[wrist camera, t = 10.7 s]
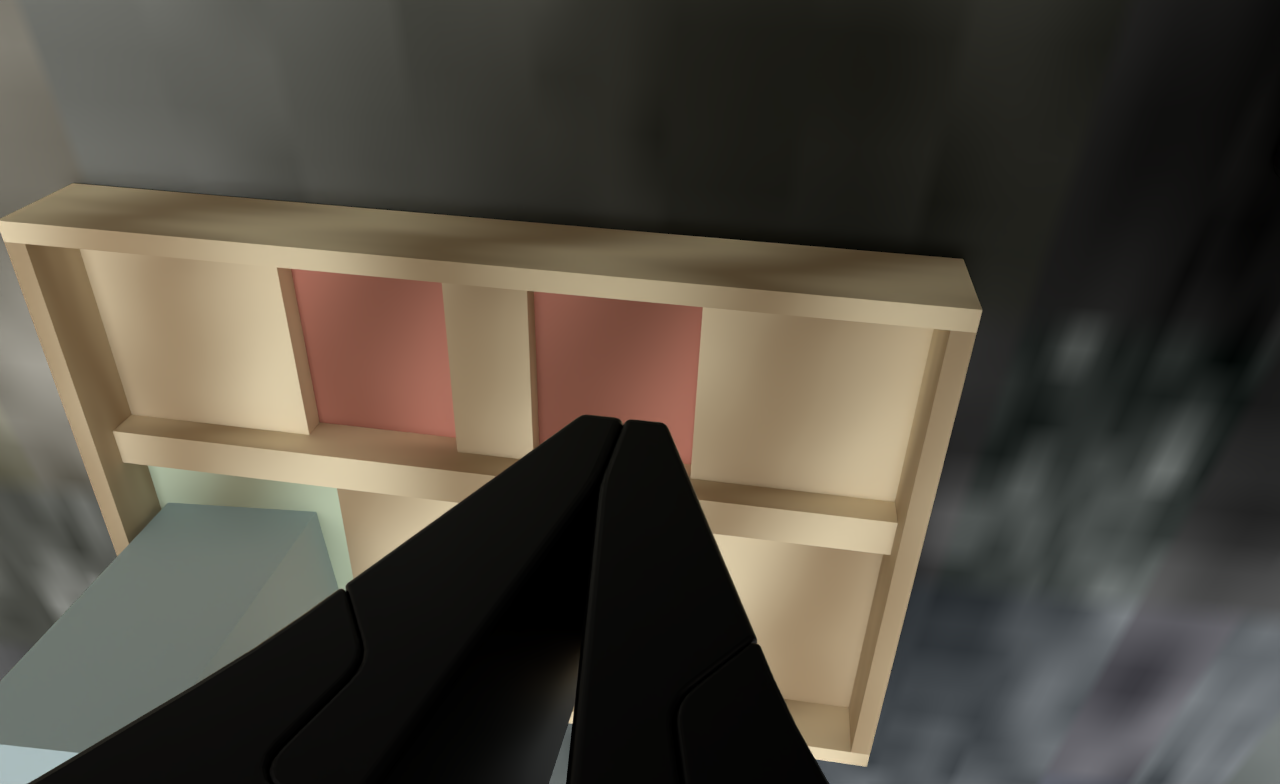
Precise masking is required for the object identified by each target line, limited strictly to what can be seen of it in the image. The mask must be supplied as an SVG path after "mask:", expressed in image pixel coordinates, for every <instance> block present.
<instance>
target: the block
mask: <svg viewBox="0 0 1280 784" xmlns="http://www.w3.org/2000/svg"><path fill="white" fill-rule="evenodd" d="M338 589H339V588H338V585H337V581H336V578H335V575H334V571H333V568H332V564H331V561H330V557H329V554H328V550H327V547H326V544H325V540H324V537H323V533H322V530H321V526H320V523H319V519H318V516H317V513H316V512H311V511H295V510H279V509H263V508H247V507H231V506H216V505H200V504H184V503H167V504H166V505H165V506H164V507H163V508H162V509H161V511H160V512H159V513H158V514H157V515H156V516H155V517H154V518H153V519H152V520H151V521H150V522H149V523H148V524H147V525H146V527H145V528H144V529H143V530H142V531H141V532H140V533H139V534H138V535H137V536H136V537H135V538H134V539H133V540H132V541H131V543H130V544H129V545H128V546H127V547H126V548H125V549H124V550H123V551H122V552H121V553H120V554H119V555H118V556H117V557H116V558H115V560H114V561H113V562H112V563H111V564H110V565H109V566H108V567H107V568H106V569H105V570H104V571H103V572H102V573H101V574H100V576H99V577H98V578H97V579H96V580H95V581H94V582H93V583H92V584H91V585H90V586H89V587H88V588H87V589H86V590H85V592H84V593H83V594H82V595H81V596H80V597H79V598H78V599H77V600H76V601H75V602H74V603H73V604H72V605H71V606H70V608H69V609H68V610H67V611H66V612H65V613H64V614H63V615H62V616H61V617H60V618H59V619H58V620H57V621H56V622H55V623H54V625H53V626H52V627H51V628H50V629H49V630H48V631H47V632H46V633H45V634H44V635H43V636H42V637H41V638H40V639H39V641H38V642H37V643H36V644H35V645H34V646H33V647H32V648H31V649H30V650H29V651H28V652H27V653H26V654H25V655H24V657H23V658H22V659H21V660H20V661H19V662H18V663H17V664H16V665H15V666H14V667H13V668H12V669H11V670H10V671H9V673H8V674H7V675H6V676H5V677H4V678H3V679H2V680H1V681H0V784H27V783H29V782H31V781H33V780H34V779H36V778H38V777H40V776H41V775H43V774H45V773H46V772H48V771H50V770H51V769H53V768H55V767H57V766H58V765H60V764H62V763H63V762H65V761H67V760H68V759H70V758H72V757H73V756H75V755H77V754H78V753H80V752H82V751H84V750H85V749H87V748H89V747H90V746H92V745H94V744H95V743H97V742H99V741H100V740H102V739H104V738H105V737H107V736H109V735H111V734H112V733H114V732H116V731H117V730H119V729H121V728H122V727H124V726H126V725H127V724H129V723H131V722H132V721H134V720H136V719H138V718H139V717H141V716H143V715H144V714H146V713H148V712H149V711H151V710H153V709H154V708H156V707H158V706H159V705H161V704H163V703H165V702H166V701H168V700H170V699H171V698H173V697H175V696H176V695H178V694H180V693H181V692H183V691H185V690H186V689H188V688H190V687H192V686H193V685H195V684H196V683H198V682H200V681H201V680H203V679H205V678H206V677H208V676H209V675H211V674H213V673H214V672H216V671H217V670H219V669H221V668H222V667H224V666H225V665H227V664H229V663H230V662H232V661H234V660H235V659H237V658H238V657H240V656H242V655H243V654H245V653H246V652H248V651H250V650H251V649H253V648H255V647H256V646H258V645H259V644H260V643H262V642H263V641H265V640H266V639H268V638H269V637H271V636H272V635H274V634H275V633H277V632H278V631H280V630H281V629H282V628H284V627H285V626H287V625H288V624H290V623H291V622H293V621H294V620H296V619H297V618H299V617H300V616H301V615H303V614H304V613H306V612H307V611H309V610H310V609H312V608H313V607H314V606H316V605H317V604H318V603H320V602H321V601H323V600H324V599H325V598H327V597H328V596H330V595H331V594H332V593H334V592H335V591H337V590H338Z"/></svg>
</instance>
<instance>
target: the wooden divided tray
mask: <svg viewBox="0 0 1280 784" xmlns="http://www.w3.org/2000/svg"><path fill="white" fill-rule="evenodd" d="M0 232H1V234H2V237H3V240H4V243H5V246H6V248H7V251H8V254H9V257H10V259H11V262H12V265H13V268H14V271H15V273H16V276H17V279H18V282H19V284H20V287H21V290H22V293H23V296H24V298H25V301H26V304H27V307H28V310H29V312H30V315H31V318H32V321H33V323H34V326H35V329H36V332H37V335H38V337H39V340H40V343H41V346H42V348H43V351H44V354H45V357H46V360H47V362H48V365H49V368H50V371H51V373H52V376H53V379H54V382H55V385H56V387H57V390H58V393H59V396H60V398H61V401H62V404H63V407H64V410H65V412H66V415H67V418H68V421H69V423H70V426H71V429H72V432H73V435H74V437H75V440H76V443H77V446H78V448H79V451H80V454H81V457H82V460H83V462H84V465H85V468H86V471H87V473H88V476H89V479H90V482H91V485H92V487H93V490H94V493H95V496H96V498H97V501H98V504H99V507H100V510H101V512H102V515H103V518H104V521H105V523H106V526H107V529H108V532H109V535H110V537H111V540H112V543H113V546H114V548H115V551H116V554H117V556H118V555H119V554H120V553H121V552H122V551H123V550H124V549H125V548H126V547H127V546H128V545H129V544H130V543H131V541H132V540H133V539H134V538H135V537H136V536H137V535H138V534H139V533H140V532H141V531H142V530H143V529H144V528H145V527H146V525H147V524H148V523H149V522H150V521H151V520H152V519H153V518H154V517H155V516H156V515H157V514H158V513H159V512H160V511H161V509H162V508H163V507H164V506H165V505H166V504H167V503H184V504H200V505H216V506H231V507H247V508H263V509H279V510H295V511H311V512H316V513H317V516H318V519H319V523H320V526H321V530H322V533H323V537H324V540H325V544H326V547H327V550H328V554H329V557H330V561H331V564H332V568H333V571H334V575H335V578H336V581H337V585H338V588H339V589H344V590H345V591H346V589H345V587H346V584H347V583H348V582H350V581H351V580H352V579H354V578H355V577H357V576H358V575H359V574H361V573H362V572H363V571H365V570H366V569H368V568H369V567H370V566H372V565H373V564H375V563H376V562H377V561H379V560H380V559H382V558H383V557H384V556H386V555H387V554H389V553H390V552H391V551H393V550H394V549H395V548H397V547H398V546H400V545H401V544H402V543H404V542H405V541H407V540H408V539H409V538H411V537H412V536H414V535H415V534H416V533H418V532H419V531H420V530H422V529H423V528H425V527H426V526H427V525H429V524H430V523H432V522H433V521H434V520H436V519H437V518H439V517H440V516H441V515H443V514H444V513H445V512H447V511H448V510H450V509H451V508H452V507H454V506H455V505H457V504H458V503H459V502H461V501H462V500H464V499H465V498H466V497H468V496H469V495H471V494H472V493H473V492H475V491H476V490H477V489H479V488H480V487H482V486H483V485H484V484H486V483H487V482H489V481H490V480H491V479H493V478H494V477H496V476H497V475H498V474H500V473H501V472H502V471H504V470H505V469H507V468H508V467H509V466H511V465H512V464H514V463H515V462H516V461H518V460H519V459H521V458H522V457H523V456H525V455H526V454H528V453H529V452H530V451H532V450H533V449H534V448H536V447H537V446H539V445H540V444H541V443H543V442H544V441H546V440H547V439H548V438H550V437H551V436H553V435H554V434H555V433H557V432H558V431H559V430H561V429H562V428H564V427H565V426H566V425H568V424H569V423H571V422H572V421H573V420H575V419H576V418H578V417H579V416H581V415H586V414H587V415H596V416H606V417H615V418H619V419H620V420H621V421H622V422H623V424H624V423H625V421H627V420H630V419H634V420H644V421H653V422H662V423H664V424H666V425H667V427H668V429H669V431H670V433H671V435H672V438H673V440H674V443H675V445H676V447H677V450H678V452H679V454H680V457H681V459H682V462H683V464H684V466H685V469H686V471H687V473H688V476H689V478H690V481H691V483H692V485H693V488H694V490H695V492H696V495H697V497H698V500H699V502H700V504H701V507H702V509H703V511H704V514H705V516H706V519H707V521H708V523H709V526H710V528H711V530H712V533H713V535H714V538H715V540H716V542H717V545H718V547H719V550H720V552H721V554H722V557H723V559H724V561H725V564H726V566H727V569H728V571H729V573H730V576H731V578H732V580H733V583H734V585H735V588H736V590H737V592H738V595H739V597H740V599H741V602H742V604H743V607H744V609H745V611H746V614H747V616H748V618H749V621H750V623H751V626H752V628H753V630H754V633H755V635H756V637H757V644H759V645H760V646H761V648H762V651H763V653H764V655H765V658H766V660H767V662H768V665H769V667H770V670H771V672H772V674H773V677H774V679H775V681H776V683H777V685H778V687H779V690H780V692H781V694H782V696H783V698H784V700H785V702H786V704H787V707H788V709H789V711H790V713H791V715H792V717H793V719H794V721H795V724H796V726H797V727H798V729H799V731H800V733H801V735H802V736H803V738H804V740H805V742H806V743H807V745H808V747H809V749H810V751H811V752H812V754H813V756H814V758H815V759H818V760H824V761H831V762H838V763H845V764H852V765H859V766H865V767H867V763H868V759H869V755H870V752H871V748H872V744H873V740H874V736H875V732H876V728H877V724H878V720H879V716H880V712H881V708H882V704H883V700H884V696H885V692H886V688H887V684H888V680H889V677H890V673H891V669H892V665H893V661H894V657H895V653H896V649H897V645H898V641H899V637H900V633H901V629H902V625H903V621H904V617H905V613H906V609H907V606H908V602H909V598H910V594H911V590H912V586H913V582H914V578H915V574H916V570H917V566H918V562H919V558H920V554H921V550H922V546H923V542H924V538H925V535H926V531H927V527H928V523H929V519H930V515H931V511H932V507H933V503H934V499H935V495H936V491H937V487H938V483H939V479H940V475H941V471H942V467H943V464H944V460H945V456H946V452H947V448H948V444H949V440H950V436H951V432H952V428H953V424H954V420H955V416H956V412H957V408H958V404H959V400H960V396H961V393H962V389H963V385H964V381H965V377H966V373H967V369H968V365H969V361H970V357H971V353H972V349H973V345H974V341H975V337H976V333H977V329H978V325H979V322H980V318H981V314H982V308H981V305H980V302H979V300H978V297H977V294H976V292H975V289H974V286H973V284H972V281H971V278H970V276H969V273H968V270H967V268H966V265H965V262H964V260H963V259H957V258H945V257H934V256H922V255H910V254H898V253H887V252H875V251H863V250H851V249H840V248H828V247H816V246H804V245H793V244H781V243H769V242H757V241H746V240H734V239H722V238H710V237H698V236H687V235H675V234H663V233H651V232H640V231H628V230H616V229H604V228H593V227H581V226H569V225H557V224H546V223H534V222H522V221H510V220H499V219H487V218H475V217H463V216H452V215H440V214H428V213H416V212H405V211H393V210H381V209H369V208H357V207H346V206H334V205H322V204H310V203H299V202H287V201H275V200H263V199H252V198H240V197H228V196H216V195H205V194H193V193H181V192H169V191H158V190H146V189H134V188H122V187H111V186H99V185H87V184H75V183H72V184H70V185H68V186H66V187H64V188H62V189H60V190H58V191H56V192H54V193H52V194H50V195H48V196H46V197H44V198H42V199H40V200H38V201H35V202H33V203H31V204H29V205H27V206H25V207H23V208H21V209H19V210H17V211H15V212H13V213H11V214H9V215H7V216H5V217H3V218H1V219H0ZM573 714H574V708H573V711H572V714H571V717H570V720H569V723H571V724H573Z"/></svg>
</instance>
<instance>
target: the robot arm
mask: <svg viewBox="0 0 1280 784" xmlns="http://www.w3.org/2000/svg"><path fill="white" fill-rule="evenodd" d="M1273 166H1274V169H1275V172H1276V174H1277V175H1278V176H1279V177H1280V144H1279V146H1278V149H1277V151H1276V154H1275V158H1274V163H1273ZM345 589H346V591H345V590H344V589H338V590H337V591H335V592H334V593H332V594H331V595H330V596H328V597H327V598H325V599H324V600H323V601H321V602H320V603H318V604H317V605H316V606H314V607H313V608H312V609H310V610H309V611H307V612H306V613H304V614H303V615H301V616H300V617H299V618H297V619H296V620H294V621H293V622H291V623H290V624H288V625H287V626H285V627H284V628H282V629H281V630H280V631H278V632H277V633H275V634H274V635H272V636H271V637H269V638H268V639H266V640H265V641H263V642H262V643H260V644H259V645H258V646H256V647H255V648H253V649H251V650H250V651H248V652H246V653H245V654H243V655H242V656H240V657H238V658H237V659H235V660H234V661H232V662H230V663H229V664H227V665H225V666H224V667H222V668H221V669H219V670H217V671H216V672H214V673H213V674H211V675H209V676H208V677H206V678H205V679H203V680H201V681H200V682H198V683H196V684H195V685H193V686H192V687H190V688H188V689H186V690H185V691H183V692H181V693H180V694H178V695H176V696H175V697H173V698H171V699H170V700H168V701H166V702H165V703H163V704H161V705H159V706H158V707H156V708H154V709H153V710H151V711H149V712H148V713H146V714H144V715H143V716H141V717H139V718H138V719H136V720H134V721H132V722H131V723H129V724H127V725H126V726H124V727H122V728H121V729H119V730H117V731H116V732H114V733H112V734H111V735H109V736H107V737H105V738H104V739H102V740H100V741H99V742H97V743H95V744H94V745H92V746H90V747H89V748H87V749H85V750H84V751H82V752H80V753H78V754H77V755H75V756H73V757H72V758H70V759H68V760H67V761H65V762H63V763H62V764H60V765H58V766H57V767H55V768H53V769H51V770H50V771H48V772H46V773H45V774H43V775H41V776H40V777H38V778H36V779H34V780H33V781H31V782H29V783H27V784H549V781H550V778H551V775H552V772H553V769H554V766H555V763H556V760H557V757H558V754H559V751H560V748H561V745H562V741H563V738H564V735H565V732H566V729H567V726H568V723H569V720H570V717H571V714H572V711H573V708H574V714H573V724H572V733H571V743H570V752H569V761H568V771H567V780H566V784H829V782H828V781H827V779H826V777H825V775H824V774H823V772H822V770H821V768H820V767H819V765H818V763H817V761H816V759H815V758H814V756H813V754H812V752H811V751H810V749H809V747H808V745H807V743H806V742H805V740H804V738H803V736H802V735H801V733H800V731H799V729H798V727H797V726H796V724H795V721H794V719H793V717H792V715H791V713H790V711H789V709H788V707H787V704H786V702H785V700H784V698H783V696H782V694H781V692H780V690H779V687H778V685H777V683H776V681H775V679H774V677H773V674H772V672H771V670H770V667H769V665H768V662H767V660H766V658H765V655H764V653H763V651H762V648H761V646H760V645H759V644H757V637H756V635H755V633H754V630H753V628H752V626H751V623H750V621H749V618H748V616H747V614H746V611H745V609H744V607H743V604H742V602H741V599H740V597H739V595H738V592H737V590H736V588H735V585H734V583H733V580H732V578H731V576H730V573H729V571H728V569H727V566H726V564H725V561H724V559H723V557H722V554H721V552H720V550H719V547H718V545H717V542H716V540H715V538H714V535H713V533H712V530H711V528H710V526H709V523H708V521H707V519H706V516H705V514H704V511H703V509H702V507H701V504H700V502H699V500H698V497H697V495H696V492H695V490H694V488H693V485H692V483H691V481H690V478H689V476H688V473H687V471H686V469H685V466H684V464H683V462H682V459H681V457H680V454H679V452H678V450H677V447H676V445H675V443H674V440H673V438H672V435H671V433H670V431H669V429H668V427H667V425H666V424H664V423H662V422H653V421H644V420H634V419H630V420H627V421H625V423H624V424H623V422H622V421H621V420H620V419H619V418H615V417H606V416H596V415H587V414H586V415H581V416H579V417H578V418H576V419H575V420H573V421H572V422H571V423H569V424H568V425H566V426H565V427H564V428H562V429H561V430H559V431H558V432H557V433H555V434H554V435H553V436H551V437H550V438H548V439H547V440H546V441H544V442H543V443H541V444H540V445H539V446H537V447H536V448H534V449H533V450H532V451H530V452H529V453H528V454H526V455H525V456H523V457H522V458H521V459H519V460H518V461H516V462H515V463H514V464H512V465H511V466H509V467H508V468H507V469H505V470H504V471H502V472H501V473H500V474H498V475H497V476H496V477H494V478H493V479H491V480H490V481H489V482H487V483H486V484H484V485H483V486H482V487H480V488H479V489H477V490H476V491H475V492H473V493H472V494H471V495H469V496H468V497H466V498H465V499H464V500H462V501H461V502H459V503H458V504H457V505H455V506H454V507H452V508H451V509H450V510H448V511H447V512H445V513H444V514H443V515H441V516H440V517H439V518H437V519H436V520H434V521H433V522H432V523H430V524H429V525H427V526H426V527H425V528H423V529H422V530H420V531H419V532H418V533H416V534H415V535H414V536H412V537H411V538H409V539H408V540H407V541H405V542H404V543H402V544H401V545H400V546H398V547H397V548H395V549H394V550H393V551H391V552H390V553H389V554H387V555H386V556H384V557H383V558H382V559H380V560H379V561H377V562H376V563H375V564H373V565H372V566H370V567H369V568H368V569H366V570H365V571H363V572H362V573H361V574H359V575H358V576H357V577H355V578H354V579H352V580H351V581H350V582H348V583H347V584H346V587H345Z"/></svg>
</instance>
